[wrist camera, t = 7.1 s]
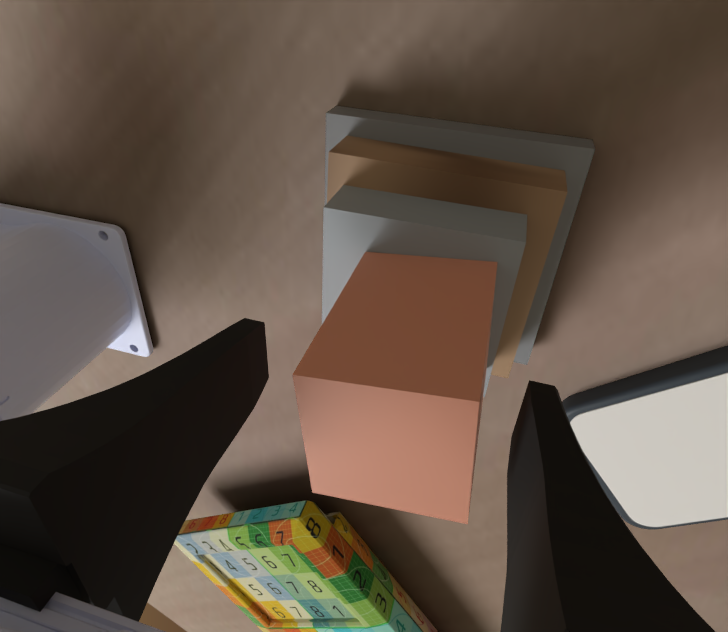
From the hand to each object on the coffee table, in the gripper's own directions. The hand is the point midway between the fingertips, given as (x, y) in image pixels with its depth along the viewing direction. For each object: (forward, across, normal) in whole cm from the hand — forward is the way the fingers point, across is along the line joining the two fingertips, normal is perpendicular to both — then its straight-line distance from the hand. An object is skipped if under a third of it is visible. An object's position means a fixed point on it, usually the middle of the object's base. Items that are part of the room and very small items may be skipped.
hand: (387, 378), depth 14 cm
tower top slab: (+6, 0, 0) cm, 6 cm away
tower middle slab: (+8, 0, 0) cm, 8 cm away
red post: (+4, 0, 0) cm, 4 cm away
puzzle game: (+9, +4, +28) cm, 30 cm away
